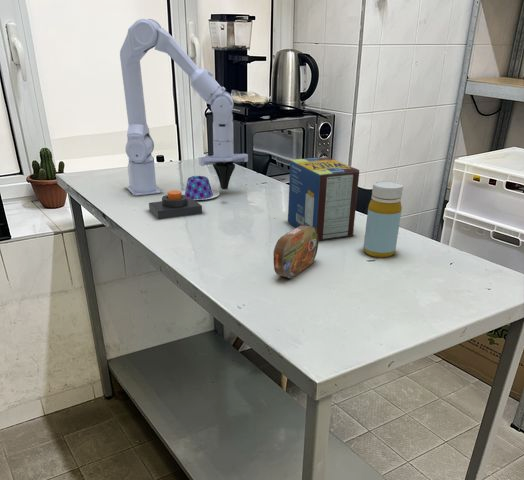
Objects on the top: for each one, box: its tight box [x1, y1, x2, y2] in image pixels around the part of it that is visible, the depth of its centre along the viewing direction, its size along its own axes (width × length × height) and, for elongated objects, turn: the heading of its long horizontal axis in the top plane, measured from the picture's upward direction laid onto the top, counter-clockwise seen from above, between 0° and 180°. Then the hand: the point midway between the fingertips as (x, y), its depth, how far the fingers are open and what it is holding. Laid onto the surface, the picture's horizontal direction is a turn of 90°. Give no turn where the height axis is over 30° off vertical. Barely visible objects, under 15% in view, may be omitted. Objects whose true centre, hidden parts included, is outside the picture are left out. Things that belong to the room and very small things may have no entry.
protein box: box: [287, 156, 360, 242], centre depth 129 cm, size 10×15×16 cm
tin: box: [273, 226, 319, 279], centre depth 109 cm, size 15×3×8 cm, turn 148°
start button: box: [166, 189, 182, 200], centre depth 141 cm, size 4×4×2 cm
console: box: [148, 194, 203, 220], centre depth 142 cm, size 12×8×4 cm, turn 116°
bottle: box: [363, 180, 404, 258], centre depth 117 cm, size 7×7×15 cm
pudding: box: [180, 175, 220, 201], centre depth 155 cm, size 12×12×5 cm
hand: (224, 188), depth 159 cm, fingers closed
